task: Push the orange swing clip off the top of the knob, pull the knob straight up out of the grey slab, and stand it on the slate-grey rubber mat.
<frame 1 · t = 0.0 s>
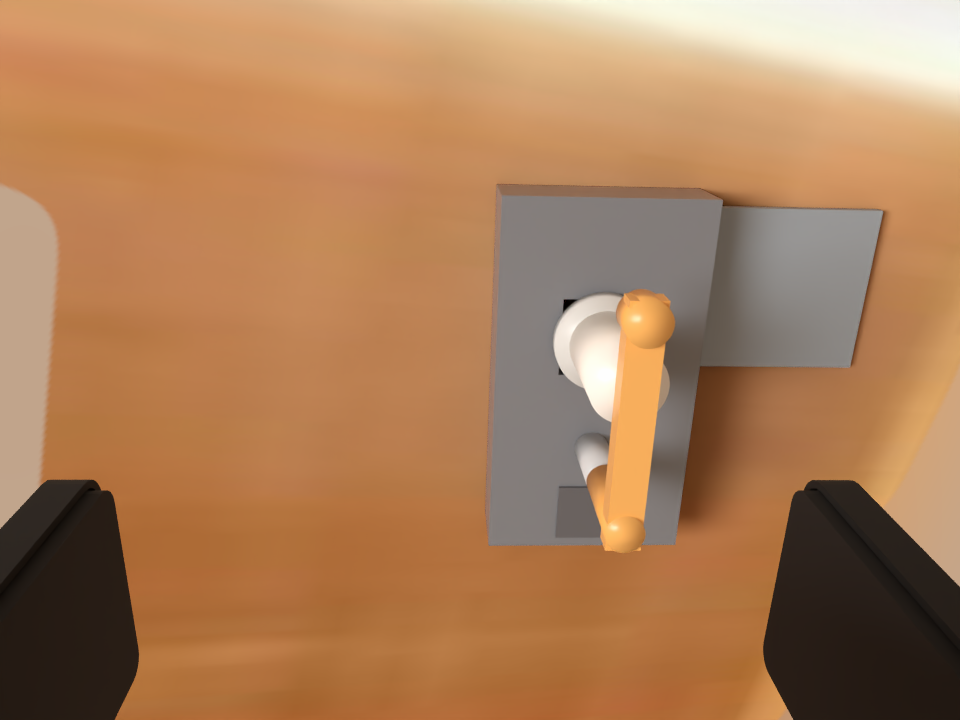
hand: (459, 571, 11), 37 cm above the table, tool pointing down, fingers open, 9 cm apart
mat: (782, 288, 48), on the table
knob: (588, 316, 48), resting in grey slab
grey slab: (584, 361, 49), on the table
clip: (624, 411, 39), point 11 cm above the table, hinge at 0.0°
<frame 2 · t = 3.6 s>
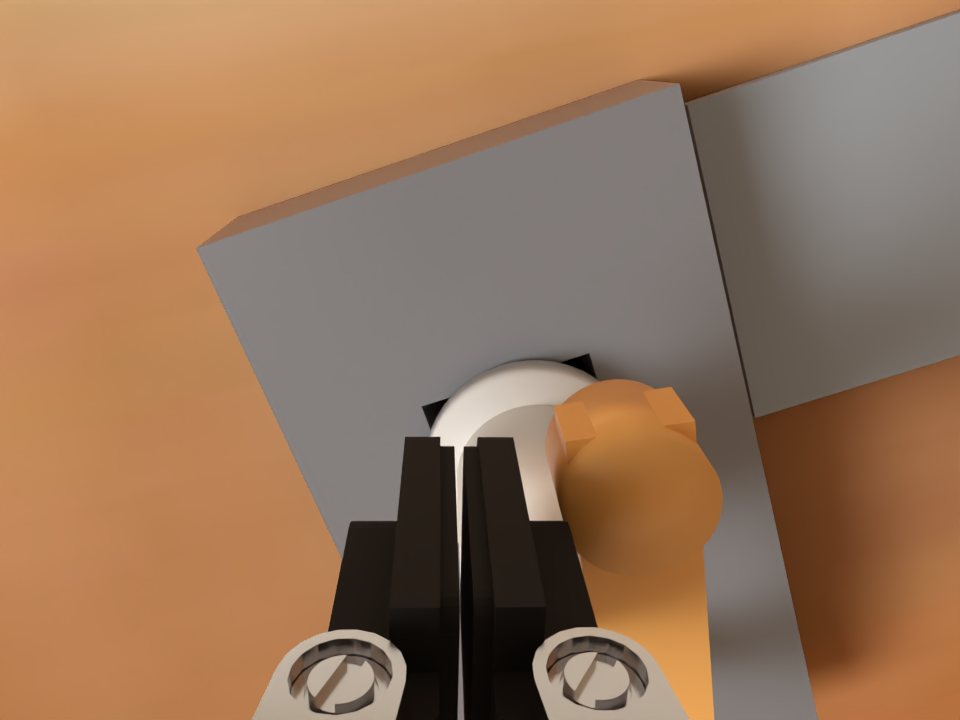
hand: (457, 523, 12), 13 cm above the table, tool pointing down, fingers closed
mat: (880, 216, 23), on the table
knob: (516, 395, 25), resting in grey slab
grey slab: (543, 473, 26), on the table
clip: (631, 669, 15), point 11 cm above the table, hinge at -9.1°, touching gripper
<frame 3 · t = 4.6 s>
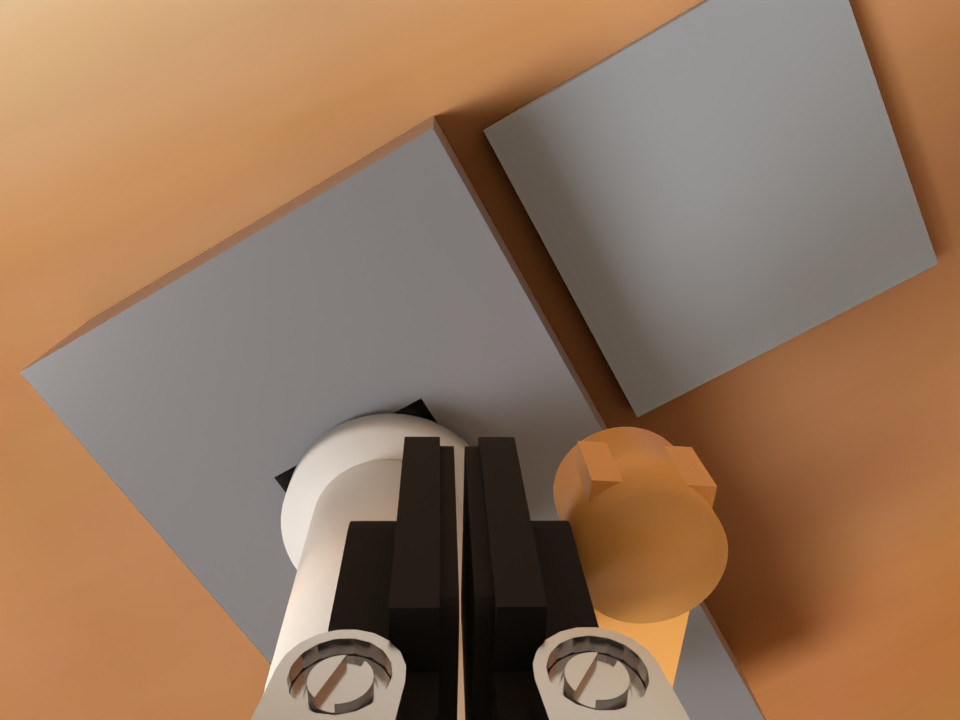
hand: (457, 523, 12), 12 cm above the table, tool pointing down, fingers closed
mat: (714, 197, 23), on the table
knob: (399, 436, 25), resting in grey slab
grey slab: (445, 505, 26), on the table
clip: (570, 705, 15), point 11 cm above the table, hinge at -34.1°, touching gripper
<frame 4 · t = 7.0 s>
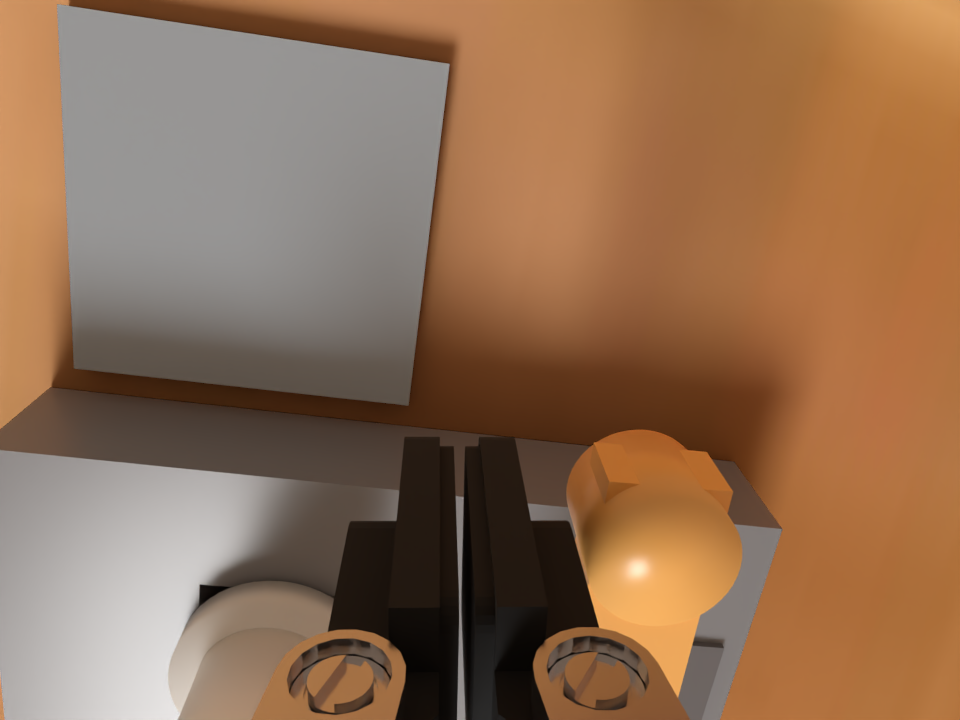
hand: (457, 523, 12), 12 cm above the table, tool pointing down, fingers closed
mat: (255, 221, 22), on the table
knob: (300, 571, 27), resting in grey slab
grey slab: (387, 579, 27), on the table
clip: (572, 706, 16), point 11 cm above the table, hinge at -88.6°
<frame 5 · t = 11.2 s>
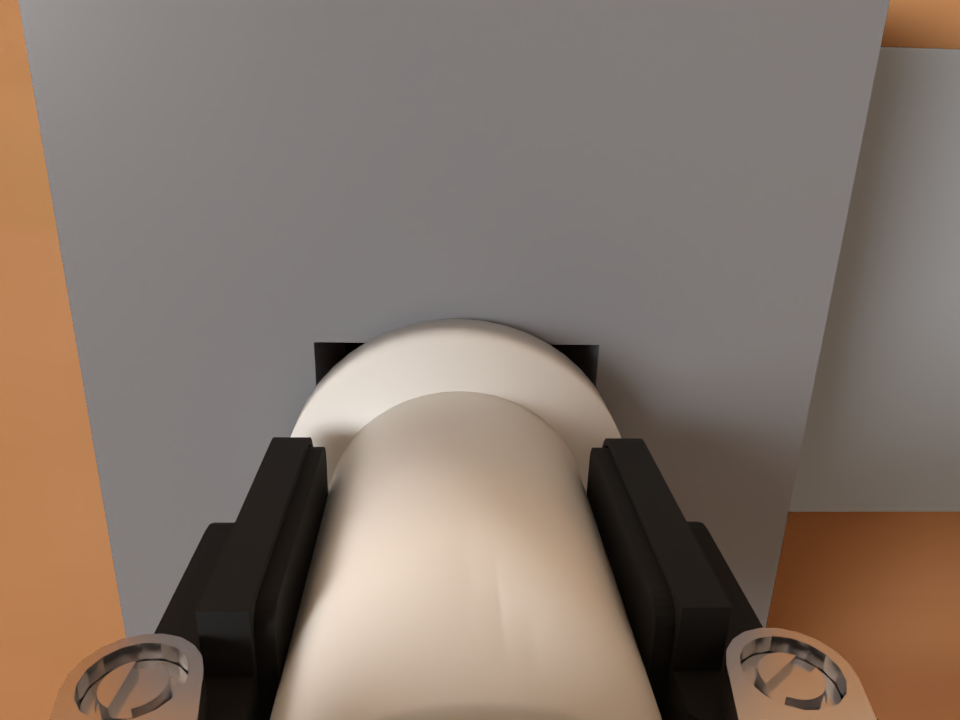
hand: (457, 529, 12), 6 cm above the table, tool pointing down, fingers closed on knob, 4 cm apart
knob: (452, 380, 17), resting in grey slab, touching gripper
grey slab: (450, 498, 18), on the table
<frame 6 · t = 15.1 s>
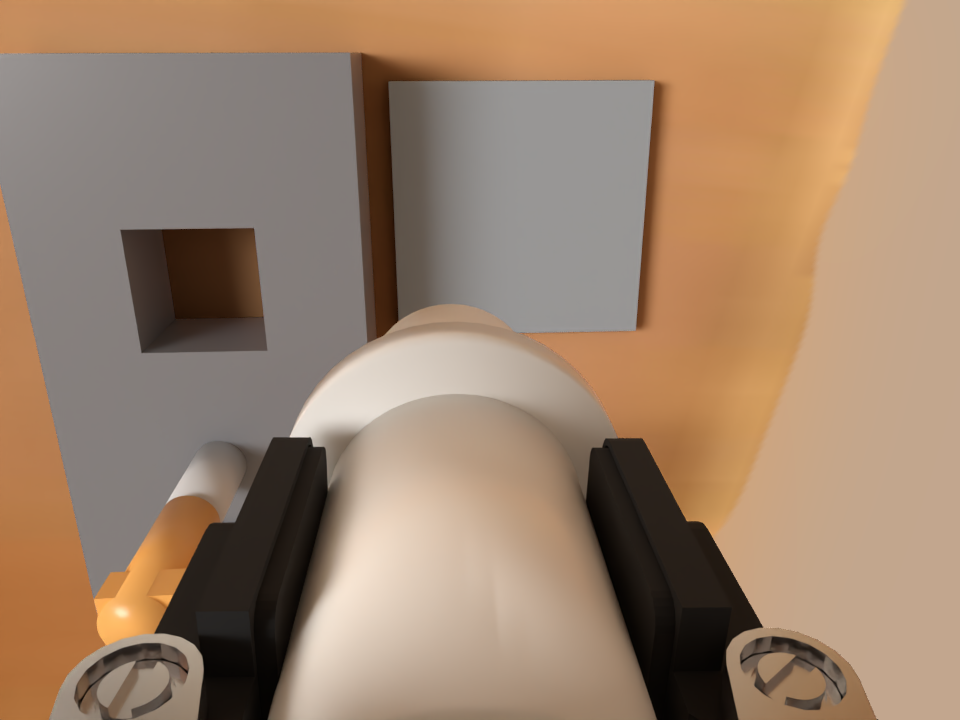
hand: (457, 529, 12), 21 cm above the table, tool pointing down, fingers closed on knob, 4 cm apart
mat: (518, 211, 32), on the table
knob: (450, 382, 17), point 16 cm above the table, touching gripper
grey slab: (233, 333, 33), on the table
clip: (343, 561, 24), point 11 cm above the table, hinge at -88.6°
when the fingers open (8 cm above the table, at t = 19.0 s): knob drops 1 cm, resting on mat.
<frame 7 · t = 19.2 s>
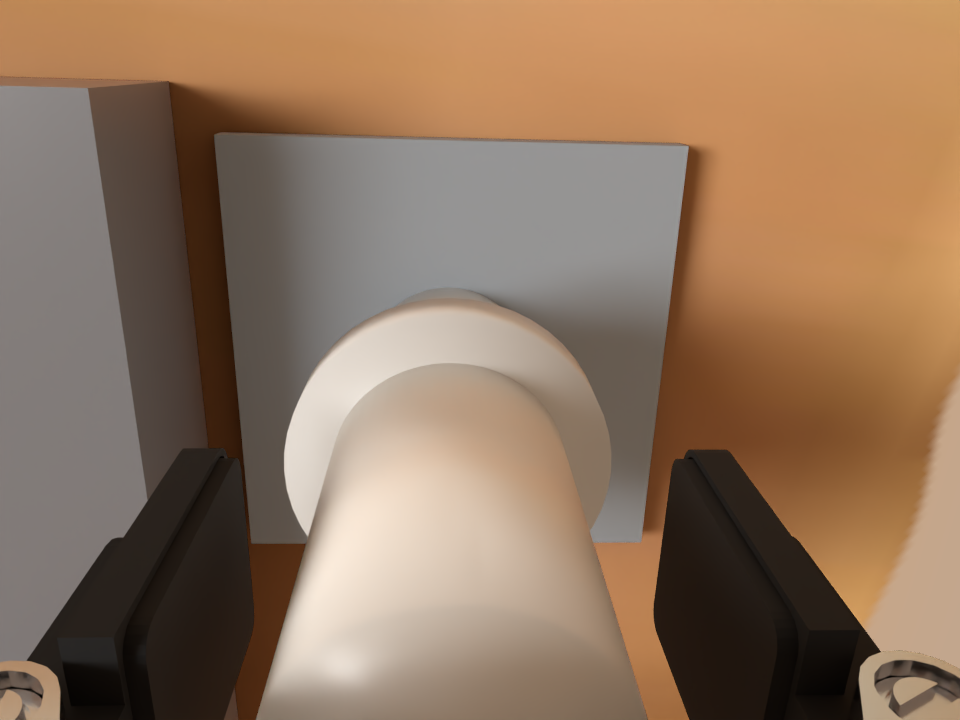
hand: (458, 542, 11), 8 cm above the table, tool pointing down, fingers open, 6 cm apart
mat: (451, 352, 19), on the table
knob: (447, 361, 18), point 1 cm above the table, touching mat
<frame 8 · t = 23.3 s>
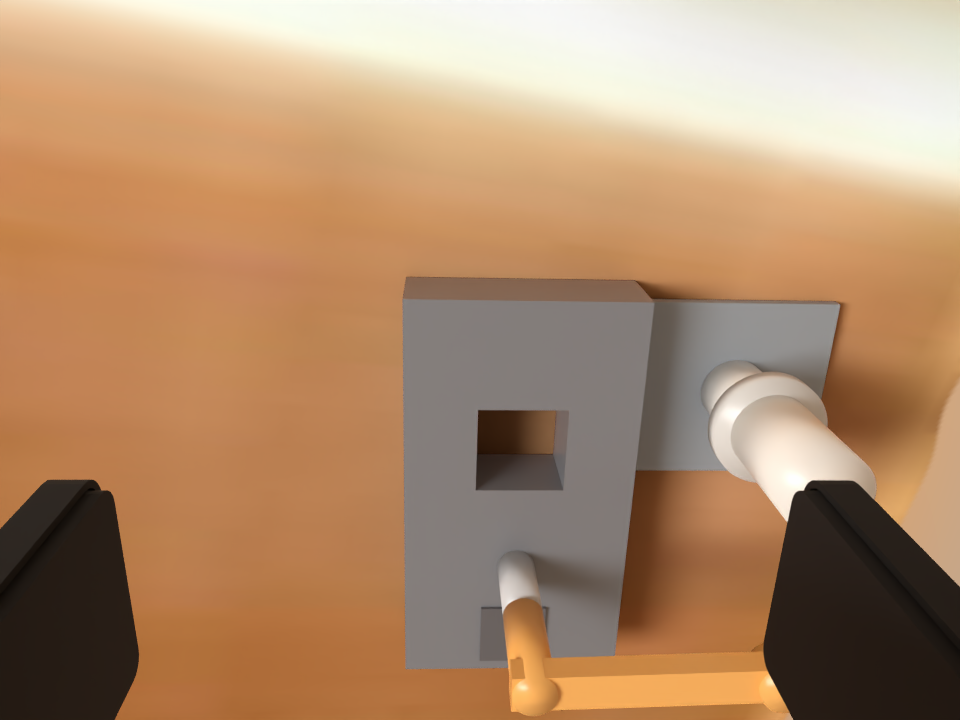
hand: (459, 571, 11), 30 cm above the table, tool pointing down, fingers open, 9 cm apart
mat: (730, 386, 43), on the table
knob: (732, 390, 43), point 1 cm above the table, touching mat
grey slab: (512, 465, 45), on the table
clip: (647, 651, 36), point 11 cm above the table, hinge at -88.6°
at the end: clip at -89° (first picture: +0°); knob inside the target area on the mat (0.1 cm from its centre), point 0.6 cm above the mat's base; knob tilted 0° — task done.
